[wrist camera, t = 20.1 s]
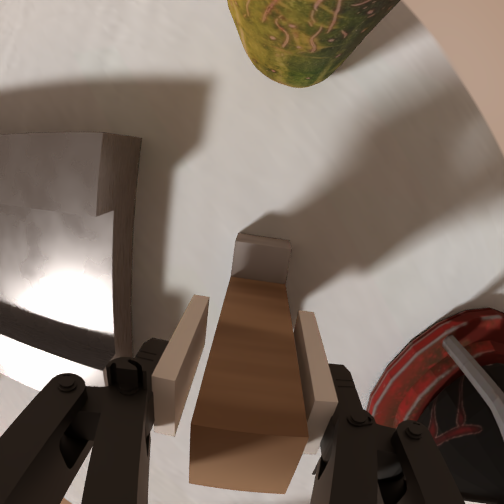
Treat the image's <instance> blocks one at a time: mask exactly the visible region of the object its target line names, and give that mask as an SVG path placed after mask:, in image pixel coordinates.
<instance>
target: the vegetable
mask: <svg viewBox="0 0 504 504" xmlns="http://www.w3.org/2000/svg"><path fill="white" fill-rule="evenodd" d="M227 1H228V7H229V10H230V12H231V15H232V17H233V20H234V23H235V25H236V28H237V30H238V33H239V36H240V39H241V41H242V44H243V47H244V49H245V51H246V53H247V55H248V57H249V58H250V60H251V61H252V63H253V64H254V65H255V67H256V68H257V69H258V70H259V71H260V72H262V73H263V74H264V75H265V76H267V77H268V78H270V79H272V80H274V81H276V82H278V83H281V84H284V85H287V86H290V87H297V88H303V87H309V86H312V85H314V84H317V83H320V82H321V81H323V80H325V79H326V78H328V77H329V76H330V75H331V74H332V73H333V72H334V71H335V70H336V69H337V68H339V66H340V65H341V64H342V63H343V62H344V61H345V60H346V59H347V57H348V56H349V55H350V54H351V53H352V51H353V50H354V49H355V48H356V47H357V46H358V45H359V44H360V43H361V41H362V40H363V39H364V37H365V36H366V35H367V34H368V33H369V32H370V31H371V30H372V29H373V28H374V27H375V26H376V25H377V24H378V23H379V22H380V21H381V19H382V18H384V17H385V16H386V15H387V14H388V13H389V12H390V10H391V9H392V8H393V7H394V6H395V5H396V4H397V3H398V2H399V1H400V0H227Z"/></svg>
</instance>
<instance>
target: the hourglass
mask: <svg viewBox="0 0 504 504" xmlns="http://www.w3.org/2000/svg"><path fill="white" fill-rule="evenodd" d="M366 411H367V412H369V413H370V414H371V415H372V416H373V417H374V419H375V422H376V423H377V424H379V425H383V426H387V427H391V428H397V426H398V424H399V423H401V422H402V421H406V420H414V421H417V422H420V423H422V424H423V425H425V426H426V427H427V429H428V430H429V431H430V433H431V435H432V437H433V439H434V441H435V443H436V445H437V447H438V449H439V451H440V453H441V454H442V456H443V458H444V460H445V462H446V464H447V466H448V468H449V470H450V473H451V475H452V477H453V479H454V481H455V483H456V485H457V487H458V489H459V491H460V493H461V495H462V498H463V500H464V501H471V502H478V503H486V504H504V313H502V312H500V311H497V310H494V309H491V308H482V309H473V310H465V311H463V312H461V313H458V314H456V315H454V316H452V317H449V318H447V319H445V320H442V321H440V322H438V323H436V324H435V325H434V326H432V327H431V328H430V329H428V330H427V331H426V332H424V333H423V334H421V335H420V336H419V337H417V338H416V339H414V340H413V341H412V342H410V343H409V344H408V345H407V346H406V347H405V349H404V350H403V351H402V352H401V353H400V354H399V355H398V356H397V357H396V358H395V359H394V360H393V361H392V362H391V363H390V364H389V366H388V367H387V368H386V369H385V371H384V372H383V374H382V376H381V377H380V379H379V381H378V382H377V384H376V386H375V387H374V389H373V391H372V392H371V394H370V398H369V402H368V405H367V409H366Z"/></svg>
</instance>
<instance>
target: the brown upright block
mask: <svg viewBox="0 0 504 504" xmlns="http://www.w3.org/2000/svg"><path fill="white" fill-rule="evenodd" d="M291 251H292V249H291V245H290V242H289V240H283V239H276V238H269V237H262V236H255V235H249V234H242V233H238V235H237V238H236V241H235V248H234V256H233V263H232V271H231V278H230V281H229V285H228V288H227V292H226V296H225V299H224V303H223V306H222V310H221V314H220V317H219V321H218V325H217V328H216V332H215V336H214V339H213V343H212V347H211V350H210V354H209V358H208V361H207V365H206V369H205V372H204V376H203V380H202V384H201V387H200V391H199V395H198V399H197V402H196V406H195V410H194V414H193V417H192V421H191V432H190V463H189V483H191V484H197V485H203V486H209V487H215V488H223V489H230V490H239V491H249V492H261V493H276V494H285V493H286V490H287V488H288V486H289V484H290V481H291V479H292V477H293V475H294V472H295V470H296V468H297V465H298V463H299V461H300V458H301V456H302V454H303V451H304V449H305V446H306V444H307V441H308V439H309V434H308V427H307V419H306V412H305V406H304V399H303V392H302V385H301V379H300V372H299V365H298V359H297V353H296V346H295V340H294V334H293V327H292V321H291V315H290V309H289V303H288V297H287V291H286V285H285V283H286V278H287V273H288V267H289V262H290V256H291Z"/></svg>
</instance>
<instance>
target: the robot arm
mask: <svg viewBox="0 0 504 504" xmlns="http://www.w3.org/2000/svg"><path fill="white" fill-rule="evenodd" d="M208 306H209V297H206V296H200V295H193V297H192V299H191V301H190V303H189V305H188V307H187V309H186V310H185V312H184V314H183V316H182V318H181V320H180V322H179V324H178V326H177V327H176V329H175V331H174V333H173V335H172V337H171V339H170V341H165V340H160V339H156V338H152V339H150V340H148V341H147V342H145V343H144V344H143V345H142V347H141V349H140V350H139V352H138V353H137V355H136V357H135V358H131V357H119V358H115V359H113V360H111V361H110V362H109V363H108V364H107V365H106V371H107V380H108V386H105V387H96V386H86V385H85V381H84V380H83V378H82V377H80V376H79V375H77V374H73V373H62V374H59V375H56V376H55V377H53V378H52V379H51V380H50V381H49V382H48V383H47V384H46V386H45V387H44V388H43V389H42V390H41V391H40V392H39V393H38V394H37V396H36V397H35V398H34V399H33V400H32V401H31V402H30V403H29V405H28V406H27V407H26V408H25V409H24V410H23V411H22V413H21V414H20V415H19V416H18V417H17V418H16V419H15V421H14V422H13V423H12V424H11V425H10V426H9V428H8V429H7V430H6V431H5V432H4V434H3V435H2V436H1V437H0V504H60V503H61V501H62V499H63V497H64V495H65V494H66V492H67V490H68V488H69V487H70V485H71V483H72V481H73V479H74V478H75V476H76V474H77V472H78V471H79V469H80V467H81V465H82V464H83V462H84V460H85V458H86V457H87V455H88V453H89V452H90V450H91V448H92V446H93V448H92V452H91V457H90V462H89V466H88V471H87V476H86V481H85V486H84V492H83V497H82V503H81V504H148V480H149V460H150V444H151V437H150V431H151V429H152V426H153V424H154V432H157V433H161V434H165V435H170V436H174V437H175V434H176V431H177V428H178V425H179V422H180V419H181V416H182V412H183V409H184V406H185V403H186V400H187V397H188V394H189V391H190V388H191V385H192V382H193V379H194V376H195V373H196V370H197V366H198V363H199V360H200V357H201V354H202V351H203V348H204V345H205V337H206V326H207V316H208ZM293 334H294V340H295V346H296V353H297V359H298V365H299V372H300V379H301V385H302V392H303V399H304V406H305V412H306V419H307V427H308V434H309V439H308V441H307V444H306V446H305V449H304V451H303V454H316V453H317V451H318V449H319V447H321V454H322V455H321V457H320V459H319V461H318V463H317V465H316V467H315V469H314V471H313V473H312V474H313V475H315V474H316V476H315V481H314V487H313V492H312V497H311V502H310V504H465V502H464V500H463V498H462V495H461V493H460V491H459V489H458V487H457V485H456V483H455V481H454V479H453V477H452V475H451V473H450V470H449V468H448V466H447V464H446V462H445V460H444V458H443V456H442V454H441V453H440V451H439V449H438V447H437V445H436V443H435V441H434V439H433V437H432V435H431V433H430V431H429V430H428V429H427V427H426V426H425V425H423V424H422V423H420V422H417V421H414V420H406V421H402V422H401V423H399V424H398V426H397V428H391V427H387V426H383V425H379V424H377V423H376V422H375V419H374V417H373V416H372V415H371V414H370V413H369V412H367V411H365V410H363V408H362V405H361V402H360V399H359V396H358V393H357V390H356V388H355V385H354V382H353V379H352V376H351V373H350V371H349V370H348V369H347V368H346V367H345V366H344V365H339V364H328V361H327V357H326V354H325V350H324V346H323V343H322V339H321V336H320V332H319V328H318V325H317V321H316V318H315V314H314V312H307V311H300V310H299V311H298V316H297V320H296V325H295V329H294V333H293Z"/></svg>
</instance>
